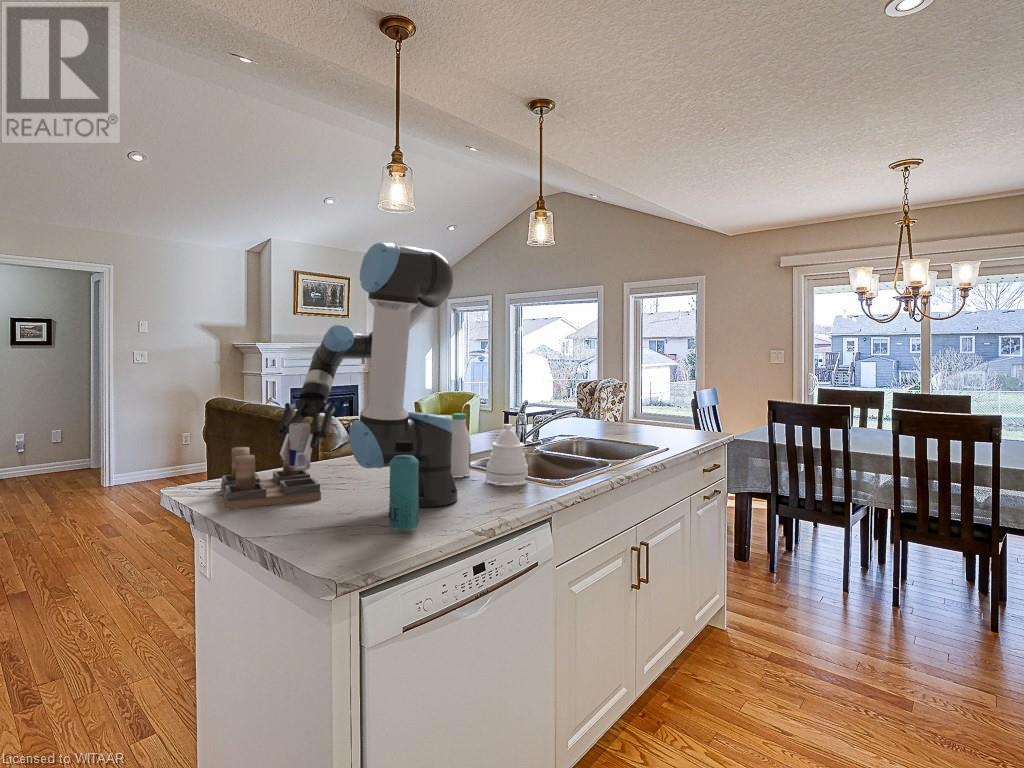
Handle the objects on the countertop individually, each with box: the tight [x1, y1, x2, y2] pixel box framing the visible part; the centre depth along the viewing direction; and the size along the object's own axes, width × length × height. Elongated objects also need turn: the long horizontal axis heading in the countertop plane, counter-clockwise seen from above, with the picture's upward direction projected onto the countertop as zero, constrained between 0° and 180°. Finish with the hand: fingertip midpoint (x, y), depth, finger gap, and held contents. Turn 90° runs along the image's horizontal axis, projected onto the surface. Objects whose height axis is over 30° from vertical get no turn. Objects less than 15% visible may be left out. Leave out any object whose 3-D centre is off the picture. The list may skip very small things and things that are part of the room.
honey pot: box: [485, 423, 529, 483], centre depth 170 cm, size 13×13×18 cm
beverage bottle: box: [388, 440, 420, 530], centre depth 119 cm, size 6×7×20 cm
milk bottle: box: [451, 412, 472, 476], centre depth 176 cm, size 8×8×20 cm
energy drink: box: [289, 422, 312, 471], centre depth 145 cm, size 5×5×12 cm
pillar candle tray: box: [220, 446, 322, 510], centre depth 148 cm, size 22×22×12 cm
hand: (294, 457), depth 142 cm, fingers closed on energy drink, 5 cm apart
